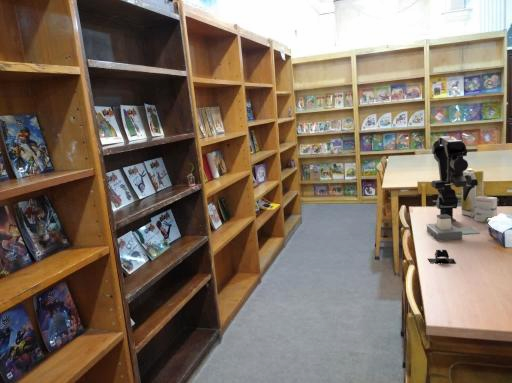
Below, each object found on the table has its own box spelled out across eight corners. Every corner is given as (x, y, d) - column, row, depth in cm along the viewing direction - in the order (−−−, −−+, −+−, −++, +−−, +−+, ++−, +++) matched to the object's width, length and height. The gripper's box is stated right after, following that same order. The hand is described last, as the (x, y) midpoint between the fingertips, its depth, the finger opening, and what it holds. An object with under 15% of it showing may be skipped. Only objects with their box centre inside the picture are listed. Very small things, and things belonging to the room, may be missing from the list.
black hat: (457, 259, 154) (457, 247, 153) (462, 266, 147) (462, 254, 146) (422, 259, 157) (422, 248, 156) (425, 266, 150) (425, 254, 149)
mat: (453, 229, 186) (453, 228, 186) (471, 228, 185) (471, 227, 185) (461, 234, 178) (461, 233, 178) (479, 233, 178) (479, 232, 178)
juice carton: (458, 213, 210) (459, 168, 205) (471, 211, 212) (472, 166, 207) (472, 217, 201) (472, 170, 196) (485, 215, 203) (486, 168, 198)
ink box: (497, 220, 193) (498, 196, 190) (493, 223, 190) (493, 199, 187) (478, 218, 199) (478, 195, 197) (473, 220, 196) (474, 197, 194)
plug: (436, 234, 182) (436, 214, 181) (447, 233, 182) (447, 214, 180) (440, 237, 178) (440, 217, 176) (451, 236, 178) (451, 216, 176)
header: (426, 231, 187) (426, 224, 186) (449, 229, 186) (449, 222, 186) (437, 240, 173) (437, 233, 173) (462, 239, 173) (462, 231, 172)
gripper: (440, 172, 175) (440, 207, 178) (484, 169, 174) (483, 204, 177) (430, 168, 186) (431, 201, 189) (472, 165, 184) (472, 198, 188)
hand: (454, 201), depth 185 cm, fingers open, 9 cm apart
